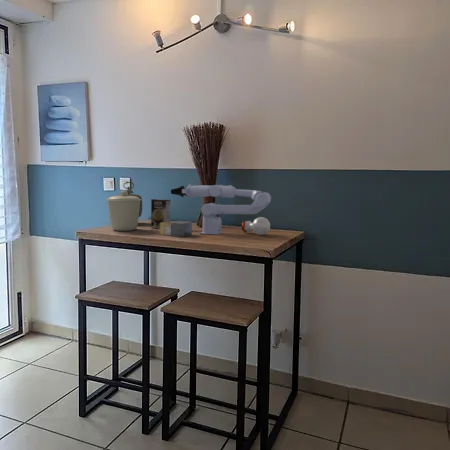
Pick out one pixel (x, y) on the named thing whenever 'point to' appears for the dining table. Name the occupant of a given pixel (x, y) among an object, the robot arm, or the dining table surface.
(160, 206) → the coffee box
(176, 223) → the housing
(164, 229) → the lever
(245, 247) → the dining table surface
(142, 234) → the dining table surface
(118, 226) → the canister
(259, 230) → the potion bottle
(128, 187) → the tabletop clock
